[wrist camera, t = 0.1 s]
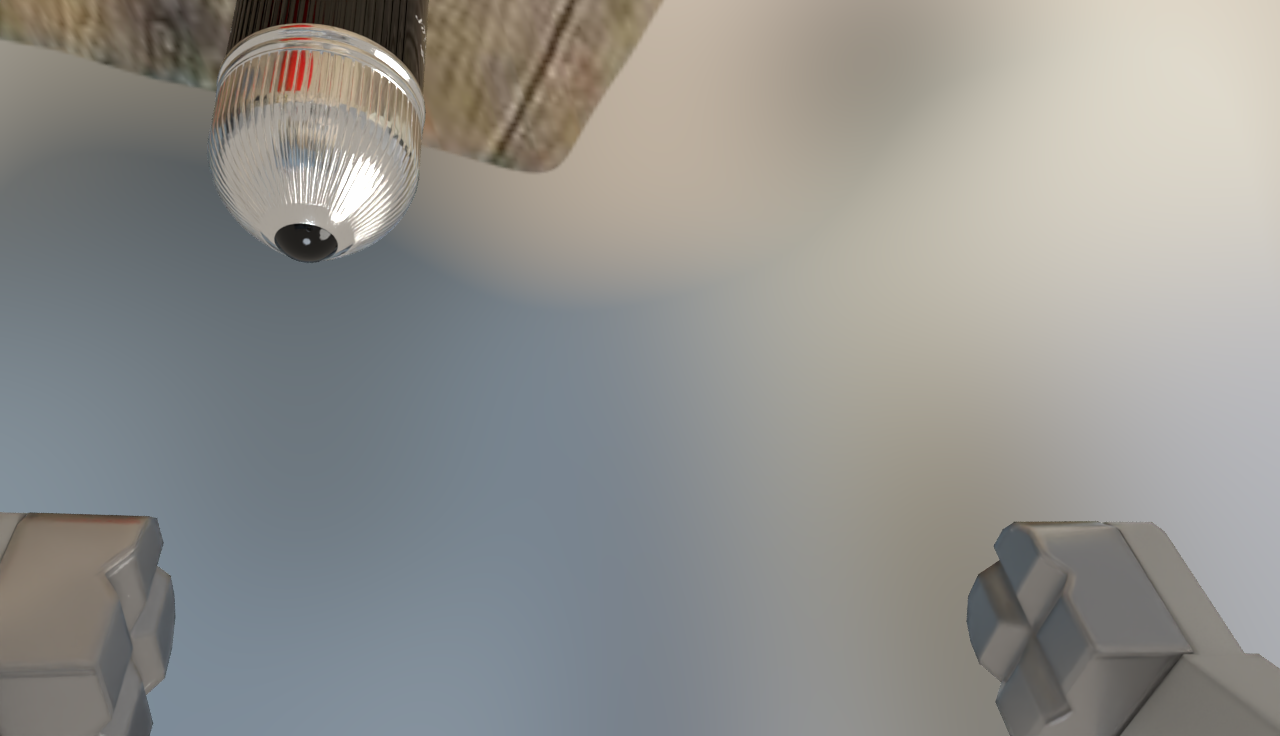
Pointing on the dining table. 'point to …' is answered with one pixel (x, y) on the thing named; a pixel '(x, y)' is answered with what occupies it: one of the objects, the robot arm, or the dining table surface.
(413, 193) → the black silver domed canister
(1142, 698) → the robot arm
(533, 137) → the dining table surface
